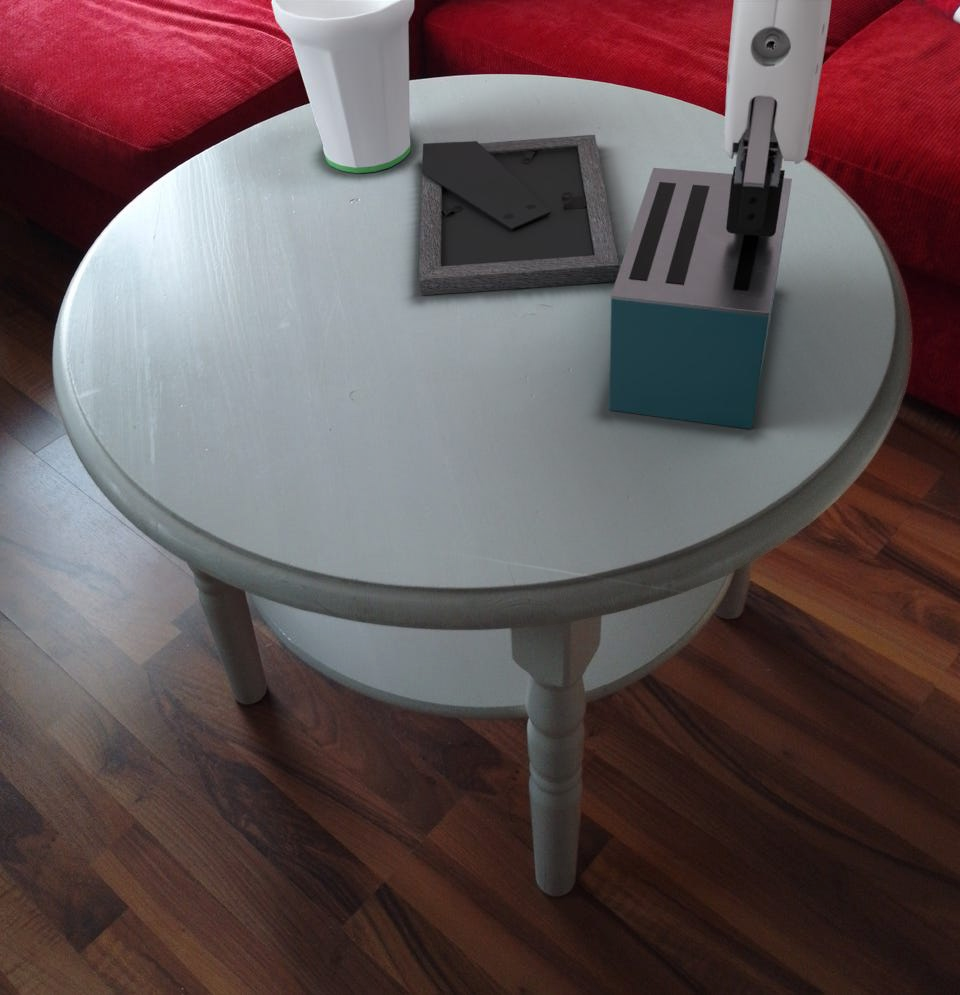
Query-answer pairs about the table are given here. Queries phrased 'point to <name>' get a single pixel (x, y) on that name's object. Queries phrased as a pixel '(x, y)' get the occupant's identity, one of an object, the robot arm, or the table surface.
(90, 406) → the table surface
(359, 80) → the cup
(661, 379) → the toaster
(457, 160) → the picture frame
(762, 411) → the table surface
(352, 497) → the table surface
